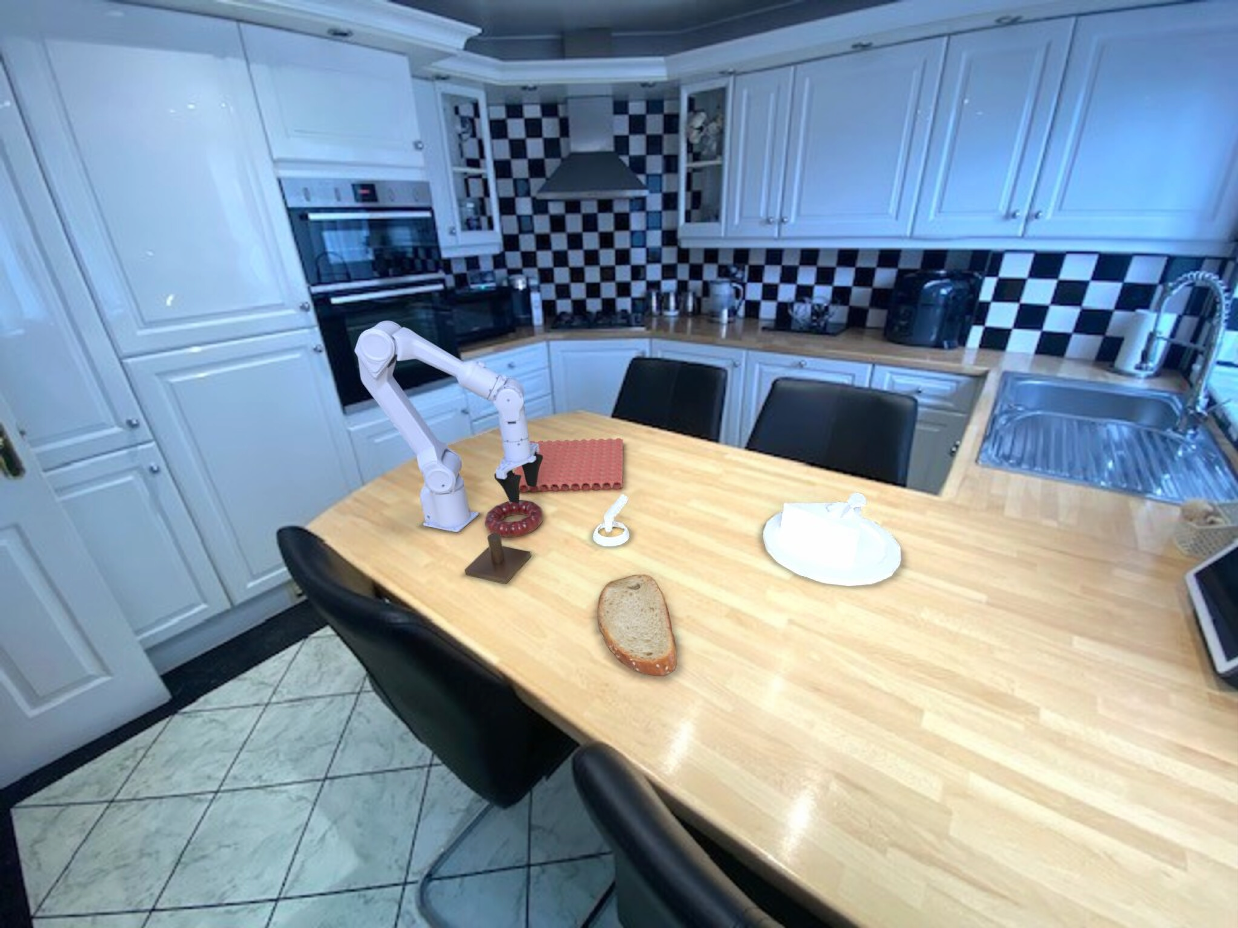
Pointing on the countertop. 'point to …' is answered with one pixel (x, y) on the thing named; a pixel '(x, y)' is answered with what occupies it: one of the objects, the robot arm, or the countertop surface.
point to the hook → (612, 525)
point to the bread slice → (637, 624)
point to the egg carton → (577, 465)
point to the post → (497, 561)
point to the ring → (515, 527)
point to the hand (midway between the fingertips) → (523, 493)
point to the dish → (832, 543)
